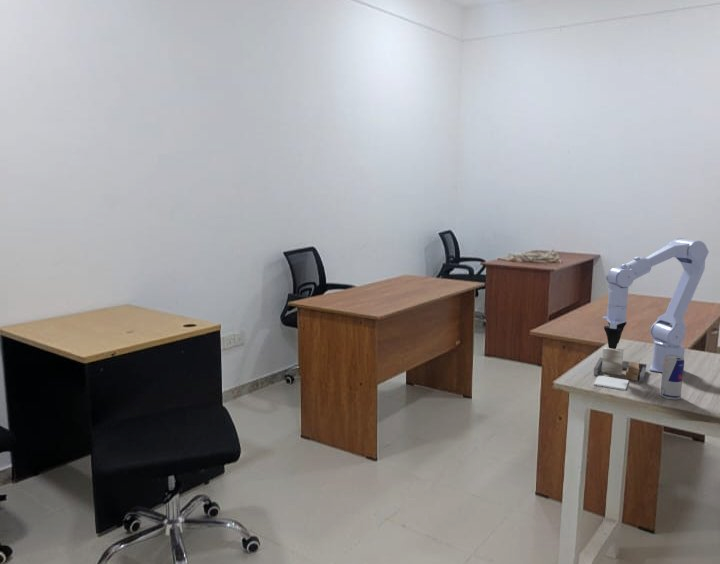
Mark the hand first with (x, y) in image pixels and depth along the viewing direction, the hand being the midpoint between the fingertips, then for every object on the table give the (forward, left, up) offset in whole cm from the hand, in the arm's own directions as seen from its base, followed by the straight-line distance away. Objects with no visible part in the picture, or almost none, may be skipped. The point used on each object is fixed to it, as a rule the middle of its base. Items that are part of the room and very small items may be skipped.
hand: (613, 345), depth 194 cm
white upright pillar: (0, 0, -9) cm, 9 cm away
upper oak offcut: (-6, 0, -8) cm, 10 cm away
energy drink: (-18, +15, -9) cm, 25 cm away
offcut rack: (-3, 0, -9) cm, 10 cm away
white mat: (-1, +11, -9) cm, 15 cm away
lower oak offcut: (-6, 0, -10) cm, 12 cm away
